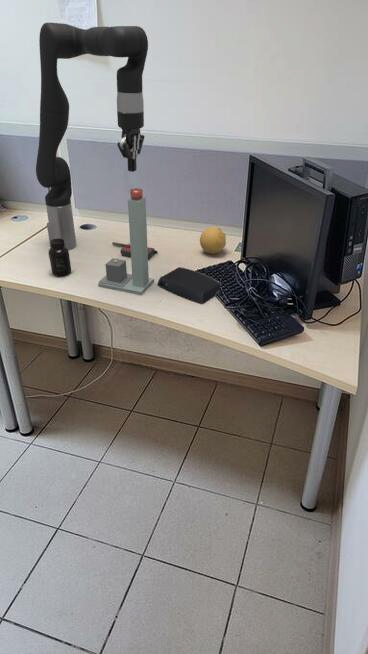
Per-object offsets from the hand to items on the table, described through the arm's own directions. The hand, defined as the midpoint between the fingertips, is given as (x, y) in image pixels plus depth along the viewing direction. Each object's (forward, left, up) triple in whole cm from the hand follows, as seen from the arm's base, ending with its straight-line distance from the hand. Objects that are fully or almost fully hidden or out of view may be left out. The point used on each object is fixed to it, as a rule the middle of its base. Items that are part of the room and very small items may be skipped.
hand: (132, 170), depth 144 cm
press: (-3, -6, -37) cm, 37 cm away
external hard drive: (+19, 0, -37) cm, 42 cm away
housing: (-5, -5, -35) cm, 36 cm away
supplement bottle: (-27, -7, -37) cm, 46 cm away
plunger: (+4, -6, -11) cm, 13 cm away
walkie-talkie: (-11, +18, -37) cm, 43 cm away
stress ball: (+17, +29, -37) cm, 50 cm away
